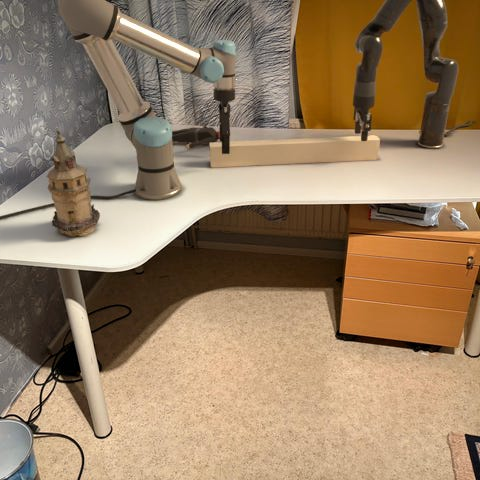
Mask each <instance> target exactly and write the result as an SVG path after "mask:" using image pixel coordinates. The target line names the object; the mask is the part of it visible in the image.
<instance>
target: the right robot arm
mask: <svg viewBox="0 0 480 480" xmlns="http://www.w3.org/2000/svg"><path fill="white" fill-rule="evenodd" d="M412 1H413V0H384V2H383V3H382V5H381V6H380V8H379V9H378V11H377V13H376V14H375V15H374V16H373V18H372V20H370V21H369V22H368V23H367V25H365V27H364V28H363V29H362V30H361V31H360V32H359V34H358V35H357V36H356V39H355V42H354V47H355V50H356V51H357V52H358V53H359V54H361V55H362V58H361V62H359V63H357V66H356V68H355V81H354V87H353V97H352V107H354V108H353V109H354V110H353V118H352V120H353V121H354V134H355V135H356V134H357V135H358V134H361V135H360V136H361V141H367V138H368V136H369V132H371V131H372V119H373V115H372V113H370V109H372V108H374V107H375V101H376V91H377V81H376V80H377V73H378V66H379V64H380V60H381V58H382V54H383V50H384V49H383V48H384V45H383V44H384V43H383V40H382V38H381V37H382V35H383V34H385V33H388V32H391V30H392V29H393V28H394V27H395V25H396V23H397V22H398V20H400V17H401V16H402V14H403V13H404V12H405V10H406V8H407V7H409V5H410V3H411V2H412ZM415 2H416V8H417V17H418V25H419V28H420V29H419V30H420V35H421V42H422V51H423V52H422V53H423V54H422V55H423V72H424V76H425V79H426V80H427V82H430V83H434V84H437V85H438V86H437V88H436V90H434V91H429V92H427V93H426V94H425V98H424V104H423V110H422V118H421V122H420V130H418V134H419V136H418V141H417V144H418V146H420V147H422V148H426V149H439V148H442V147H443V146H444V139H445V137H448V136H450V134H451V133H452V132H454V131H455V130H457V129H460V128H466V127H469V126H471V125H472V123H474V120H473V119H470V120H471V121H470V120H469V122H468V123H464V124H460V125H456V126H454V127H453V128H451V129H450V130H448V131H447V132H446V128H447V123H448V122H447V120H448V116H449V111H450V105H451V100H452V98H453V95H454V93H455V89H456V85H457V80H458V75H459V69H460V68H459V63H458V62H457V60H455V59H451V58H447V57H442V56H441V51H440V44H441V43H440V42H441V40H442V38H443V36H444V34H445V33H446V30H447V28H448V12H447V6H446V3H445V0H415ZM472 120H473V121H472Z"/></svg>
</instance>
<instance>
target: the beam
mask: <svg viewBox="0 0 480 480" xmlns="http://www.w3.org/2000/svg"><path fill="white" fill-rule="evenodd" d="M380 143H381V139H380V138H379V137H378V136H377V135H373V134H372V135H368V138H367V141H361V135H351V136H350V135H349V136H329V137H328V136H325V137H305V138H283V139H262V140H261V139H259V140H258V139H257V140H238V141H237V140H236V141H230V154H222V142H220V141H217V142H210V145H209V164H210V168H227V167H228V168H229V167H232V168H233V167H253V166H271V165H291V164H292V165H293V164H294V165H295V164H314V163H315V164H316V163H334V162H335V163H337V162H338V163H339V162H353V161H354V162H358V161H359V162H361V161H378V160H379V152H380Z"/></svg>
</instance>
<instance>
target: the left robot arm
mask: <svg viewBox="0 0 480 480" xmlns="http://www.w3.org/2000/svg"><path fill="white" fill-rule="evenodd" d="M56 10H57V12H58V15H59V17H60V18H61V19H62V20H63V22H64V24H65V25H66V27H67V29H68V31H69V32H70V34H71V36H72V38H73V40H74V41H75V42H77V43H79V44H82V46H83V48H84V50H85V51H86V53H87V55H88V57H89V59H90V61H91V62H92V64H93V66H94V68H95V70H96V72H97V73H98V75H99V77H100V79H101V81H102V82H103V83H102V84H104V86H105V88H106V90H107V92H108V93H109V95H110V97H111V99H112V101H113V103H114V105H115V107H116V108H117V110H118V112H119V113H118V117H117V119H118V121H119V123H120V125H121V127H122V129H123V131H124V134H125V136H126V138H127V139H128V140H129V142H130V143H131V145H132V146H133V147H134V149H135V154H136V161H137V175H136V179H135V184H134V189H131V190H128V191H124V192H121V193H119V194H115V195H90V197H91V199H103V200H111V199H118V198H121V197H123V196H126V195H129V194H132V193H135V195H136V196H137V197H138V198H141V199H143V200H148V201H161V200H168V199H171V198H174V197H176V196H178V195H179V194H180V193H181V192H182V183H181V180H180V177H179V176H178V173H177V171H176V169H175V161H174V160H175V159H174V158H175V157H174V146H173V145H174V144H173V142H172V131H173V130H172V126H171V124H170V122H169V120H167V119H165V118H161V117H158V116H157V115H156V113H155V112H154V109H153V107H152V105H151V104H150V102H149V101H148V102H147V101H144V100H143V98H142V96H141V94H140V92H139V90H138V88H137V86H136V84H135V82H134V80H133V78H132V76H131V74H130V72H129V70H128V68H127V66H126V64H125V63H124V61H123V59H122V56H121V54H120V53H119V51H118V49H117V46H116V45H115V43H114V41H116V42H117V43H120V44H123V45H125V46H126V47H129V48H131V49H134V50H136V51H138V52H139V53H142V54H145V55H147V56H149V57H151V58H154V59H157V60H159V61H161V62H163V63H165V64H168V65H170V66H172V67H174V68H176V69H178V70H179V72H180V73H181V74H188V75H189V74H190V75H192V76H194V77H197V78H199V79H201V80H202V81H203V82H206V83H209V84H212V87H213V100H214V101H216V102H219V103H218V113H219V116H218V117H219V118H218V123H219V131H220V140H219V142H222V154H230V142H231V141H230V140H231V125H230V124H231V123H230V118H231V104H230V102H233V101H235V100H236V89H235V88H236V82H237V81H238V78H237V77H236V61H237V60H236V59H237V58H236V57H237V54H236V53H237V52H236V51H237V49H236V44H235V42H234V41H233V40H230V39H218V40H214V41H213V42H212V47H205V48H201V47H200V48H196V47H195V46H192V45H190V44H188V43H186V42H183V41H181V40H179V39H177V38H175V37H173V36H171V35H170V34H169V35H168V34H166V33H164V32H163V31H160V30H158V29H156V28H154V27H151V26H150V25H148V24H145V23H143V22H141V21H139V20H137V19H135V18H132V17H130V16H129V15H126V14H125V13H122V12H121V10H120V7H118V6H116V5H114V4H112V3H110V2H109V1H107V0H56ZM50 207H55V205H54V202H52V203H47V204H43V205H39V206H35V207H31V208H27V209H24V210H19V211H15V212H11V213H6V214H3V215H0V220H2V219H5V218H10V217H13V216H18V215H21V214H26V213H29V212H34V211H37V210H40V209H41V210H42V209H46V208H50Z"/></svg>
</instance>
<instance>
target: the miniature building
mask: <svg viewBox="0 0 480 480" xmlns="http://www.w3.org/2000/svg"><path fill="white" fill-rule="evenodd" d="M56 134H57V136H56V138H55V140H54V141H55V142H56V147H55V154H54V156H52V157H51V161H52V162H53V165H54V167H53V168H51V169H50V170H49V171H48V173H47V174H46V178H47V179H48V182H49V184H48V186H47V190H48V191H49V193H50V194H51V200H52V201H53V203H54V205H55V206H54V209H55V211H53V217H52V220H51V223H52V225H51V227H54V228H56V229H58V230H59V231H60V234H63V235H64V234H65V235H66V236H69V237H77V236H80V237H83V236H87V235H88V234H90V233H93V232H94V231H95V229H96V226H97V225H98V223H99V220H100V216H101V213H100V212H99V210H98V209H96V208H95V204H92V201H91V200H92V198H91V197H90V196H91V192H92V191H91V188H90V184H91V178H89V177H88V174H87V167H85V166H84V165H83V166H82V165H80V164H77V160H76V154H75V151H74V150H70V149H69V147H68V145H67V143H66V138H65V137H64V136H63V135H61V130H60V129H56Z"/></svg>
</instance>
